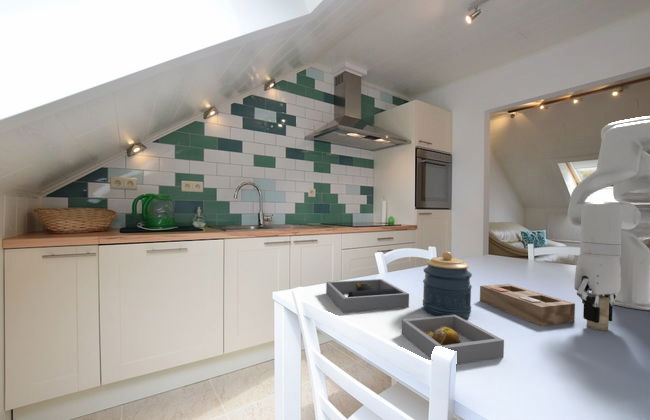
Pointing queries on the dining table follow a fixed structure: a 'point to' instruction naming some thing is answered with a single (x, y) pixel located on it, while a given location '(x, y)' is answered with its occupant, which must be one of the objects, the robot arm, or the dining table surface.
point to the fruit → (444, 336)
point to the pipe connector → (370, 291)
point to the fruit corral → (477, 350)
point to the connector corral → (365, 302)
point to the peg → (601, 315)
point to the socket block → (528, 304)
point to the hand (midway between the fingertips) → (597, 319)
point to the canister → (447, 287)
